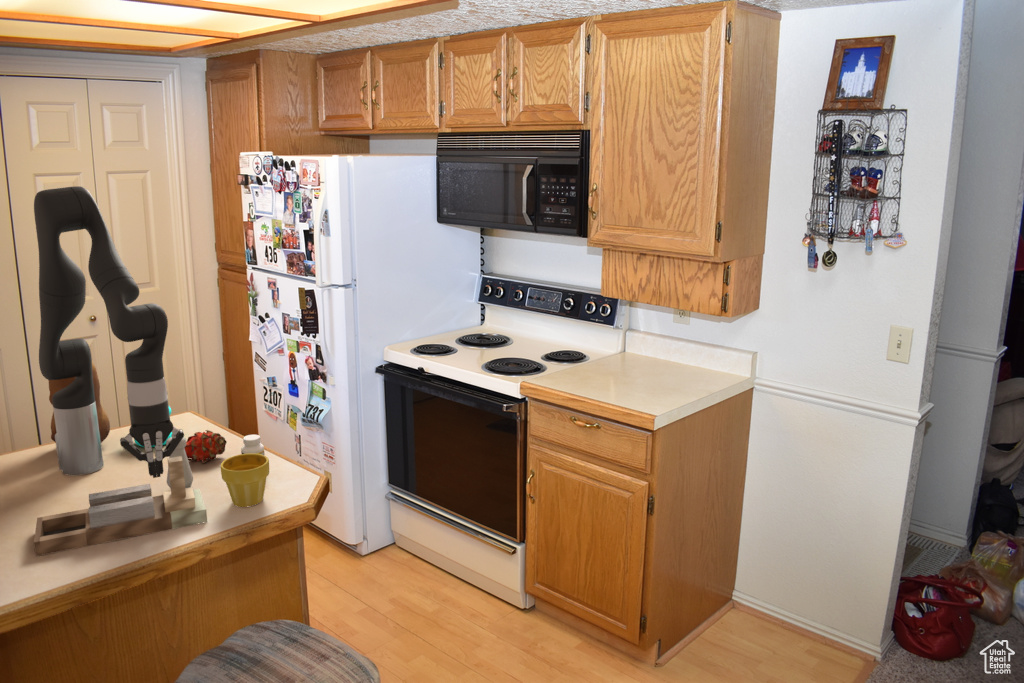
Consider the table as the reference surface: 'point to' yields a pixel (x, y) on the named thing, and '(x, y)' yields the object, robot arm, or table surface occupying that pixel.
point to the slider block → (177, 488)
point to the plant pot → (245, 478)
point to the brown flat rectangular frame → (77, 530)
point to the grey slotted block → (121, 506)
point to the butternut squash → (101, 414)
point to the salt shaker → (186, 467)
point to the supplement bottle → (252, 445)
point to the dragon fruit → (204, 446)
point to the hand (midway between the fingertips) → (156, 476)
